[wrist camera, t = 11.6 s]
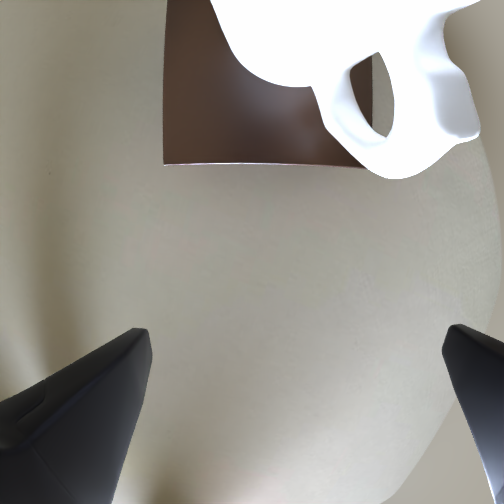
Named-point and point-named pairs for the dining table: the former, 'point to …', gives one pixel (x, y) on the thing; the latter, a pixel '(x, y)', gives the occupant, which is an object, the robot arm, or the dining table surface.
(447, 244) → the dining table surface
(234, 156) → the wooden box
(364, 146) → the mug
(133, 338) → the robot arm
